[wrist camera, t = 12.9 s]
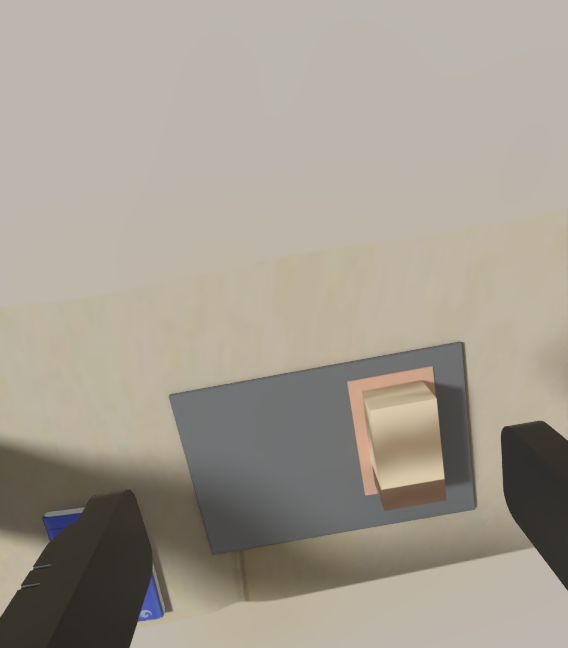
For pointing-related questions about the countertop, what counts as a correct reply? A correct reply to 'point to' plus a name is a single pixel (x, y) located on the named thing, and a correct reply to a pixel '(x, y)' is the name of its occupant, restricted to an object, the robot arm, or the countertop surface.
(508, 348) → the countertop surface
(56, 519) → the hard drive
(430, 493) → the beige rectangular block
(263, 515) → the rubber mat
